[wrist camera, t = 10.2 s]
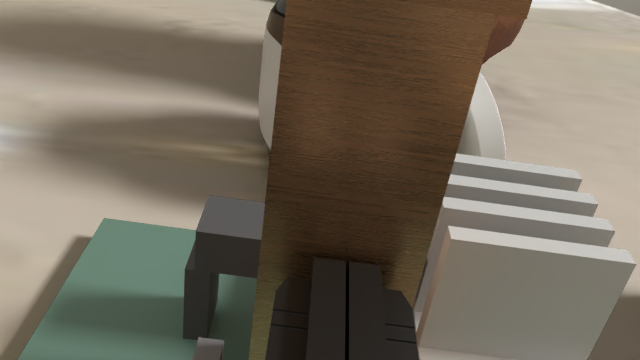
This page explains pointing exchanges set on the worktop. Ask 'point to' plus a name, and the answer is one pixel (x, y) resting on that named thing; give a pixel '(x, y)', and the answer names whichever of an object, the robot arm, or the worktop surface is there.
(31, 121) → the worktop surface
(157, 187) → the worktop surface
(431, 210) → the bar
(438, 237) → the heatsink board
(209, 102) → the worktop surface
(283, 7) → the spread jar
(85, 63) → the worktop surface
